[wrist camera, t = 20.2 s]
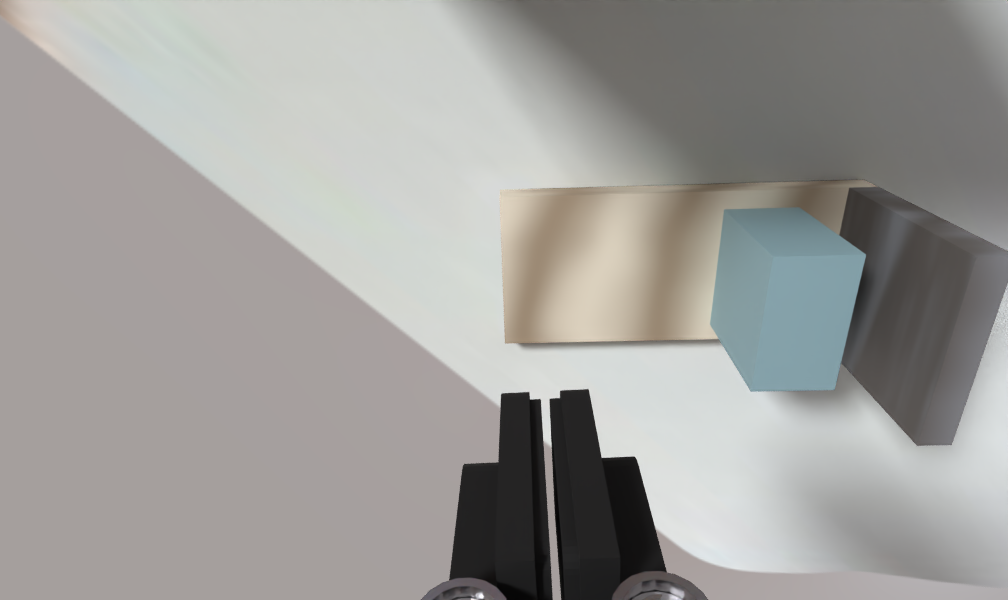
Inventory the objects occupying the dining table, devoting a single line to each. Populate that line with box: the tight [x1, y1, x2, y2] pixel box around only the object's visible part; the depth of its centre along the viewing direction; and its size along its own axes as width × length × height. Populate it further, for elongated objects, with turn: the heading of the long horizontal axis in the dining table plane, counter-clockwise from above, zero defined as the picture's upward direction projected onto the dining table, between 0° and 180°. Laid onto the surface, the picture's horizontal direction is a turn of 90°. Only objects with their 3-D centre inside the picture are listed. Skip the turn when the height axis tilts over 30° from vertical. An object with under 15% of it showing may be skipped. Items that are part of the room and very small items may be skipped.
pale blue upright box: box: [710, 207, 866, 392], centre depth 32 cm, size 4×7×7 cm, turn 2°
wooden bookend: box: [500, 180, 1008, 446], centre depth 31 cm, size 20×9×12 cm, turn 92°
